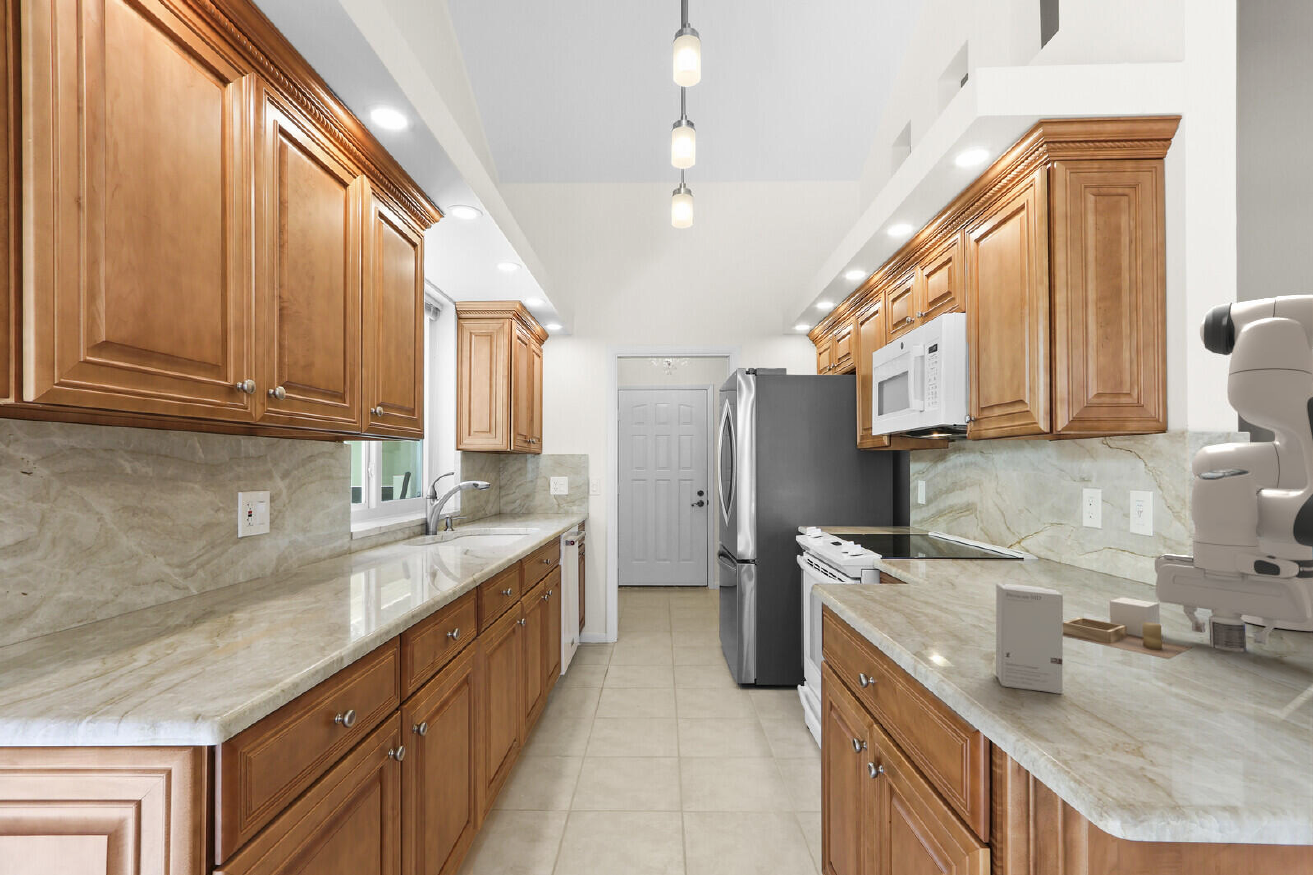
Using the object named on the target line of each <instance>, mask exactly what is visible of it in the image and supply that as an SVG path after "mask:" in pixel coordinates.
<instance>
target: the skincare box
mask: <svg viewBox="0 0 1313 875" xmlns="http://www.w3.org/2000/svg"><path fill="white" fill-rule="evenodd" d="M995 585H996V586H995V589H996V593H995V594H996V595H995V596H996V598H995V600H996V601H995V602H996V603H995V605H996V607H995V608H996V610H995V612H996V613H995V614H996V617H995V619H996V620H995V621H996V623H995V625H996V626H995V628H996V629H995V632H996V633H995V641H996V642H995V675H996V676H997V678H998V681H999V683H1000V685H1001V686H1002V687H1005V688H1014V689H1021V690H1022V689H1023V690H1028V691H1030V690H1031V691H1038V692H1039V691H1041V692H1046V693H1053V694H1063V664H1064V663H1063V662H1064V661H1063V658H1064V657H1063V653H1064V652H1063V650H1064V649H1063V648H1064V647H1063V641H1064V639H1063V637H1064V636H1063V622H1064V613H1063V612H1064V611H1063V610H1064V601H1063V600H1064V599H1063V598H1064V597H1063V596H1064V595H1063V594H1062V593H1061V592H1059V591H1058V590H1056V589H1055V588H1052V587H1051V588H1049V587H1042V586H1034V585H1033V586H1032V585H1025V584H1013V583H1001V582H1000V583H999V582H998V583H995Z"/></svg>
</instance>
